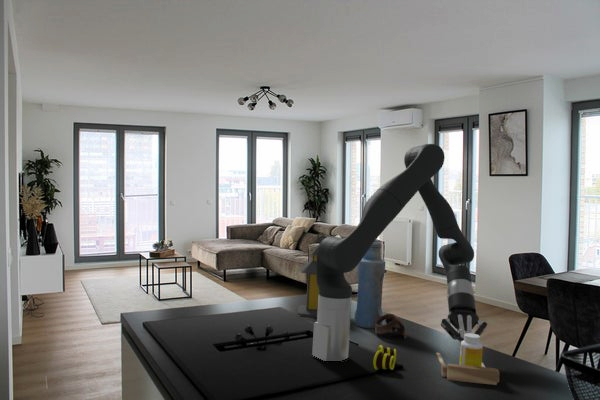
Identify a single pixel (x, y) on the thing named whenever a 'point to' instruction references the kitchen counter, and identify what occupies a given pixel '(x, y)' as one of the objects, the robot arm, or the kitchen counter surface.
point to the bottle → (370, 287)
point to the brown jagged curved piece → (390, 325)
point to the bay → (469, 373)
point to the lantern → (311, 286)
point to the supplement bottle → (471, 350)
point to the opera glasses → (384, 358)
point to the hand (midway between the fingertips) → (467, 353)
